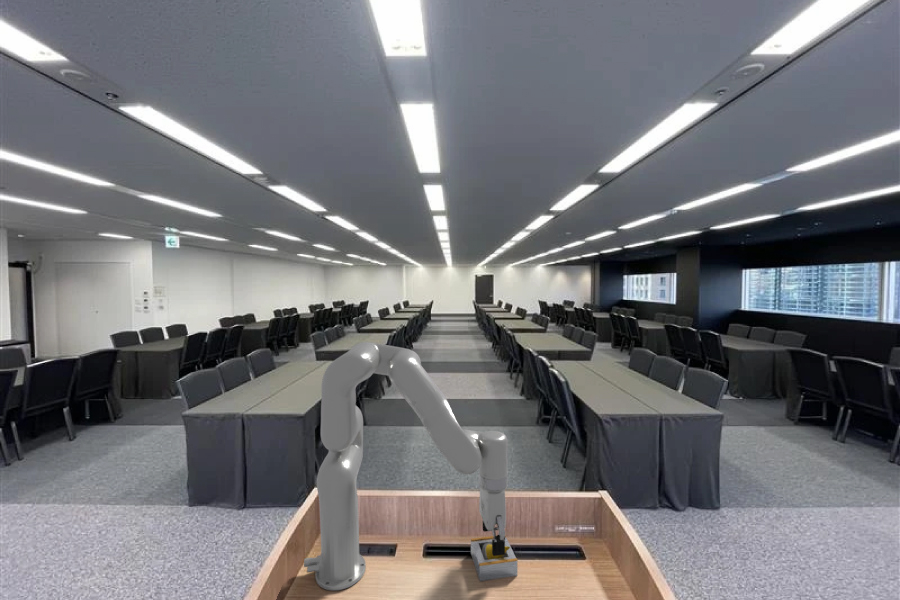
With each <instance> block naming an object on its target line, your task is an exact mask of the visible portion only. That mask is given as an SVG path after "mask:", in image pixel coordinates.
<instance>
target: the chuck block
mask: <svg viewBox="0 0 900 600" xmlns="http://www.w3.org/2000/svg"><path fill="white" fill-rule="evenodd" d="M492 540H493V535H489V536H483V537H481V536H480V537H474V538H470V555H471V557H472V558H471V559H472V561H473V564H474V568H475V571H476V574H477V577H478V580H479V582H482V581H483V582H485V581H491V580H498V579H503V578H504V579H505V578H511V577H512V578H513V577H517V576H518V558H517V557H516V555H515V553H514V550H513V549H512V547H511V544H510V542H509V540H508V538H507V535H506V534H505V546H507V547H510V548H509V549H508V550H507V551H506V553H505V554H504V555H503V556H502V557H501V558H497V559H490V560H484V557H483V554H482V548H483V545H484V544H486V543H491V544H492Z"/></svg>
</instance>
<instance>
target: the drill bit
mask: <svg viewBox="0 0 900 600" xmlns="http://www.w3.org/2000/svg"><path fill="white" fill-rule="evenodd" d="M509 548H510V547H507V546H505V553H506V551H507V550H508V549H509ZM482 554H483V557H484V560H490V559H497V558H503V557H502V556H503V555H498V556H493V554H492V544H491V543H486V544H484V545H483V548H482Z"/></svg>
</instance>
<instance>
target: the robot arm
mask: <svg viewBox="0 0 900 600" xmlns="http://www.w3.org/2000/svg"><path fill="white" fill-rule="evenodd" d="M374 374H377V375H383V376H387V377H388V379H389V380H390V382H391V383H392V384H393V386H394V387H395V388H396V390H397V391H398V392H399V393H400V395H401V396H402V397H403V398H404V400H405V401H406V402H407V403H408V405H409V406H410V407H411V409H412V410H413V411H414V413H415V414H416V415H417V417H418V419H420V422H421V424H422V425H423V427H424V429H425V430H426V431H427V433H428V435H429V436H430V438H431V439H432V441H433V443H434V444H435V446H436V448H437V449H438V451H439V452H440V453H441V454H442V456H443V457H444V458H445V460H446V461H447V463H449V465H450V466H451V467H452V468H453V470H454V471H456V472H458V473H459V474H461V475H465V476H466V475H473V474H474V473H476V472H477V471H478V486H479V501H478V502H479V505H478V507H479V508H478V509H479V514H480V517H481V519H482V531H483V532H485V533H486V532H492V536H493V540H492V554H493V556H498V555H504V554H505V535H506V526H507V506H506V505H507V504H506V491H505V490H506V489H508V484H509V483H508V481H509V480H508V473H509V472H508V471H509V470H508V464H509V463H508V450H509V449H508V446H509V445H508V444H509V443H508V437H507V436H506V434H505V433H503V432H501V431H498V430H487V431H478V430H472V429H465V428H464V429H463V428H462V427H461V425H460V424H459V422H458V421H457V418H456V417H455V415H454V413H453V411H452V408H451V406H450V403H449V401H448V399H447V397H446V396H445V394H444V392H443V391H442V390H441V389H440V388H439V387H438V385H437V384H436V383H435V381H434V380H433V379H432V377H431V376H430V375H429V373H428V372H427V371H426V369H425V368H424V367H423V366H422V360H421V358H420V355H419V354H418V353H417V352H415V351H414V350H412V349H409V348H405V347H399V346H394V345H387V344H382V343H378V342H372V341H362V342H359V343H356V344H355V345H354V346H353V347H352V348H350V349H349V350H347V352H345V353H343V354H342V355H340V356H338V357H337V358H335V359H334V360H333V361H332V362H331V363H330V364H329V365H328V366H327V367H326V369H325V371H324V373H323V376H322V381H321V399H320V400H321V403H320V439H321V442H322V444H323V445H322V446H323V447H325V449H326V450H327V451H328V452H327V454H326V456H325V457H324V459H323V462H322V463H321V464H320V467H319V469H318V471H317V476H316V489H317V495H318V503H319V519H320V522H319V523H320V526H319V527H320V555H317V556H316V557H307V558H306V557H305V558H304V562H303V568H306V569H307V570H306V573H313V572H315V581H316V584H317V585H318V586H319V587H321V588H322V589H324V590H327V591H343V590H344V589H348V588H350V587H352V586H353V585H355V584H357V583H358V582H359V581H360V580H361V579H362V578H363V576H364V574H365V572H366V569H367V568H366V566H367V565H366V560H365V558H364V557H363V555H361V554H360V536H359V535H360V534H359V533H360V531H359V528H360V527H359V522H360V521H359V499H358V490H357V477H358V475H359V471H360V467H361V466H362V461H363V458H364V457H363V456H364V417H363V413H362V410H361V409H360V408H359V407H358V406H357V403H356V402H357V395H356V393H357V392H356V388H357V386H358V385H359V384H360V383H362V382H364V381H366V380H368V379H369V378H371V376H372V375H374ZM496 526H497V527H496ZM497 531H498V534H497V533H496V532H497Z"/></svg>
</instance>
